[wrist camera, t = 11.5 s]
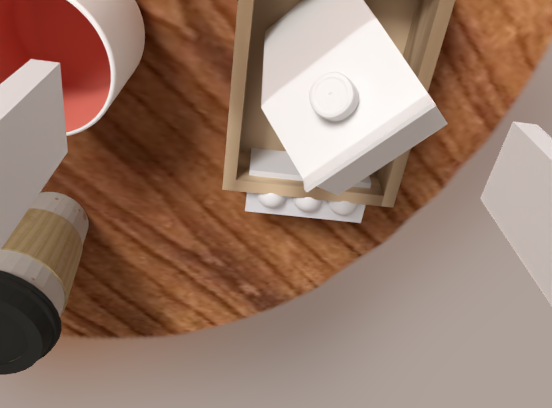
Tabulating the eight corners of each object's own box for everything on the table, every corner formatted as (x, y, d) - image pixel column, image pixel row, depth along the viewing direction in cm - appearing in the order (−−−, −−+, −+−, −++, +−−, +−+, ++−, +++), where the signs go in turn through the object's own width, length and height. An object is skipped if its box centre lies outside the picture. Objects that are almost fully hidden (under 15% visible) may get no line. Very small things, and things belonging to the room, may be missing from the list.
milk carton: (392, 45, 40) (473, 160, 24) (318, 100, 42) (346, 237, 26) (340, -33, 37) (391, 39, 21) (263, 31, 39) (257, 139, 23)
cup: (86, -78, 36) (30, -62, 28) (174, 44, 41) (148, 89, 32) (-12, 1, 39) (-90, 37, 30) (81, 107, 44) (35, 163, 35)
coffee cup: (3, 246, 51) (-85, 367, 39) (3, 163, 46) (-97, 271, 34) (102, 267, 53) (48, 390, 40) (113, 189, 48) (56, 301, 35)
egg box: (246, 186, 47) (244, 219, 42) (251, 147, 44) (249, 177, 40) (354, 198, 47) (362, 231, 43) (364, 160, 45) (373, 190, 41)
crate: (228, 155, 46) (222, 189, 41) (247, -70, 36) (243, -61, 31) (380, 171, 47) (393, 207, 42) (438, -43, 37) (464, -30, 32)
